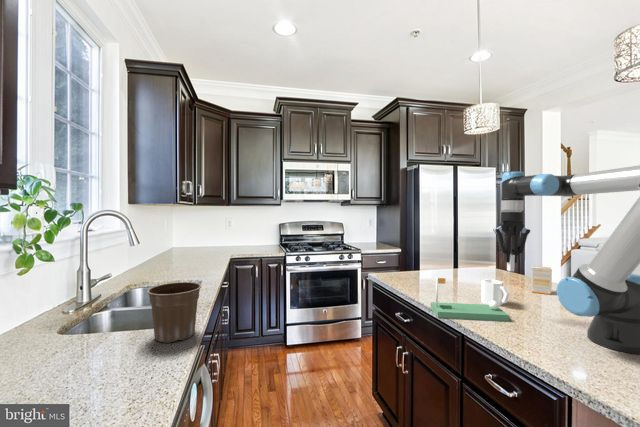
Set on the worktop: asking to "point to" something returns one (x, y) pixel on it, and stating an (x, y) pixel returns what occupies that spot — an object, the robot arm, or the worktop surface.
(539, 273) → the supplement box
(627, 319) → the robot arm
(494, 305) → the ball
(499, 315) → the putting strip
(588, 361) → the worktop surface
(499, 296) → the mug
